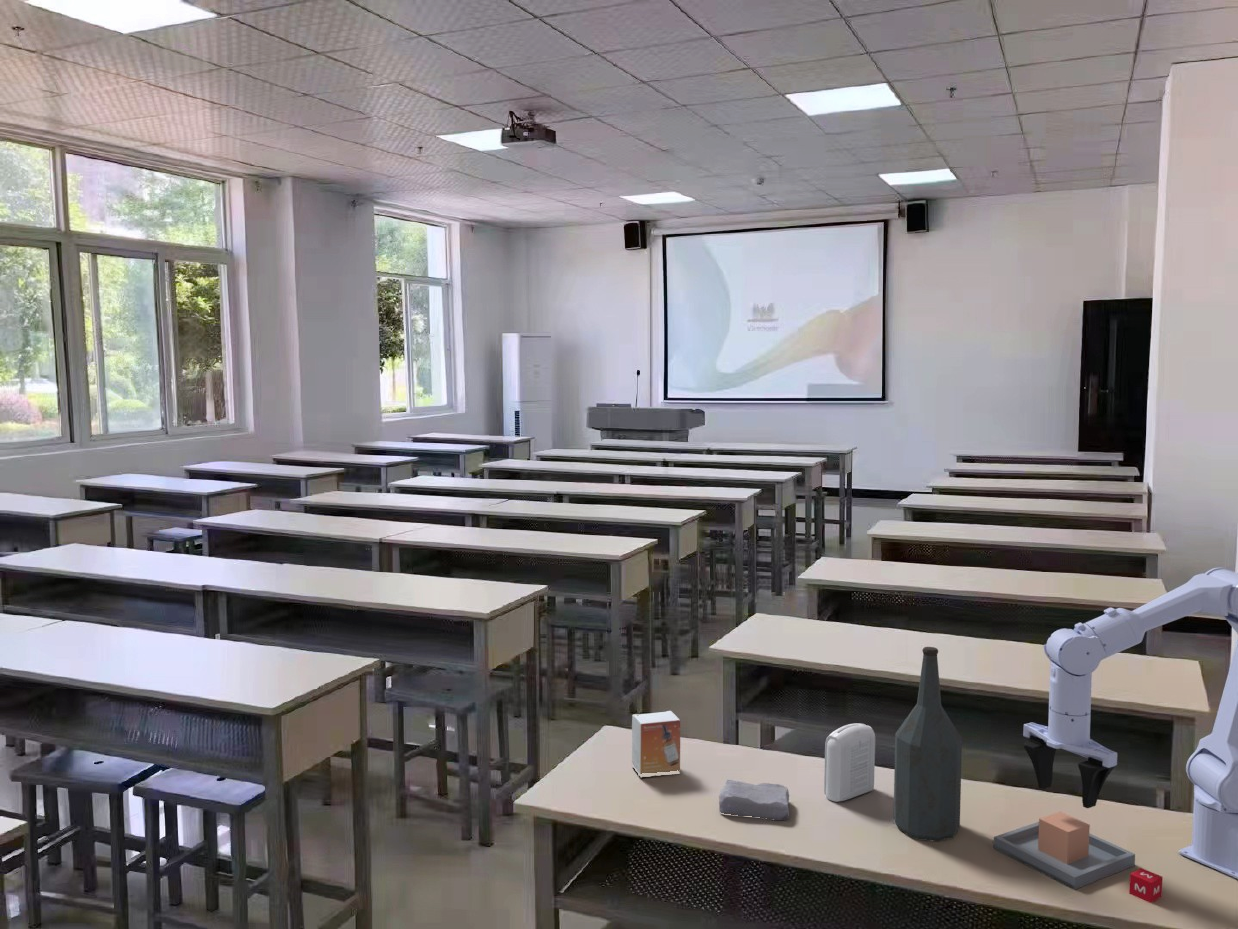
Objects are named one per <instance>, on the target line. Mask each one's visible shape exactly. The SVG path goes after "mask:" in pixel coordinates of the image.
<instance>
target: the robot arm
mask: <svg viewBox="0 0 1238 929" xmlns="http://www.w3.org/2000/svg"><path fill="white" fill-rule="evenodd" d="M1103 613H1104V614H1102V615H1100V616H1098V617H1095V618H1093V619H1091V620H1088V621H1086V622H1084V623H1082V622H1078V623H1075V624H1074V628H1073V629H1072V628H1060V629H1057V630H1056V631H1054V632H1053V633H1051V634H1050V637H1048V639H1047V641H1046V644H1043V651H1044V653H1045V655H1046V657H1047V659H1049V661H1050V666H1049V668H1050V669H1049V672H1050V673H1049V692H1048V721H1047V722H1048V724H1047V725H1048V726H1046V725H1043V724H1038V723H1036V722H1029V723H1024V724H1023V732H1022V733H1023V734H1022V735H1023V737H1025V738H1028V741H1025V742H1023V748H1024V750H1025V752H1026V753H1027V755H1028V757H1029V759H1030V761H1031V764H1032V766H1033V770H1034V774H1035V777H1036V781H1037V786H1038V788H1039V789H1040V790H1045V789H1048V788H1050V787H1052V784H1053V770H1054V760H1055V756H1056V752H1057V750H1060V749H1061V750H1065V751H1067V752H1070V753H1073V754H1075V755H1078V756H1081V757H1083V758H1085V759H1087V760H1085V761H1081V762H1078V764H1077V767H1078V770H1079V772H1080V777H1081V785H1082V786H1081V787H1082V790H1081V791H1082V792H1081V796H1082V797H1081V798H1082V800H1081V802H1082V806H1083V808H1085V809H1090V808H1094V807H1096V805H1097V801H1098V798H1099V795H1100V793H1101V790H1102V788H1103V786H1104V783H1105V782H1106V780H1107V778H1108V777H1109V776H1110V774H1111V773H1112V771H1113V770H1114V769H1115V766H1117V765H1118V752H1116V751H1113V750H1111V749H1109V748H1108V747H1106V746H1103V745H1102V744H1100V743H1098V742H1097V741H1095V740H1093V739H1092V738H1091V736H1090V735H1091V715H1092V713H1091V710H1092V709H1091V707H1092V706H1091V705H1092V677H1093V676H1092V675H1093V673H1094V671H1096V670H1097V669H1098V667H1099V666H1100V663H1101V662H1102V660H1104V659H1106V658H1107V659H1108V658H1110V657H1111V656H1114V655H1116V654H1118V653H1121V652H1122V651H1125V650H1128V649H1130V648H1131V647H1134V646H1136V645H1139V644H1140V643H1142V641H1143V639H1144V638H1145V637H1144V636H1145V635H1146V634H1145V633H1146V632H1147V631H1150V630H1153V629H1156V628H1157V627H1158V628H1159V627H1160V626H1161V627H1162V626H1163V625H1166V624H1169V623H1171V622H1174V621H1177V620H1180V619H1182V618H1184V617H1188V616H1190V615H1193V614H1195V613H1204V614H1211V615H1216V616H1217V615H1218V616H1222V617H1224V619H1225V620H1226V621H1227V622H1228V624H1229V625H1230V626H1231V628H1232V629H1233V630H1234V631H1235V632H1236V634H1237V635H1238V572H1236V571H1234V570H1232V569H1230V568H1227V567H1214V568H1210V569H1209V570H1207V571H1206V572H1205V573H1199V574H1195V575H1193V576H1192V577H1191V578H1190V579H1189V580H1188V581H1187V582H1186V583H1183V584H1182V585H1180V586H1178V587H1176V588H1174V589H1172V590H1170V591H1169V592H1166V593H1164V594H1163V595H1160V596H1159V597H1157V598H1155V599H1152V600H1151V601H1149V602H1147V603H1145V604H1143V605H1141V606H1140V607H1139V606H1138V607H1137V608H1135V609H1133V610H1129V609H1127V608H1124V607H1123V608H1122V607H1118V608H1114V607H1108V608H1106V609H1104V610H1103ZM1216 713H1217V714H1216V717H1215V720H1214V725H1213V729H1212V732H1210V734H1208V735H1205V737H1202V738H1201V739H1199V741H1198V744H1197V748H1196V749H1195V751H1194V752H1193V753H1192V754H1191V755H1190V757H1189V758H1188V759H1187V762H1186V767H1185V771H1186V775H1187V777H1188V780H1189V781H1190V782H1191V783H1193V797H1194V798H1193V815H1192V831H1191V832H1192V834H1191V844H1190V845H1188V846H1185V847H1183V848H1181V849H1178V853H1179V855H1182V856H1184V857H1187V858H1188V859H1190V860H1193V861H1196V862H1197V863H1200V864H1202V865H1205V866H1207V867H1209V868H1212V869H1215V870H1217V871H1219V872H1221V873H1223V874H1225V875H1228V876H1230V877H1232V878H1235V879H1237V880H1238V639H1237V641H1236V645H1235V648H1234V652H1233V656H1232V658H1231V663H1230V666H1229V669H1228V672H1227V677H1226V681H1225V684H1224V688H1223V692H1222V696H1221V699H1220V701H1219V706H1218V710H1217V712H1216Z"/></svg>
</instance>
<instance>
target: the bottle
mask: <svg viewBox="0 0 1238 929" xmlns="http://www.w3.org/2000/svg"><path fill="white" fill-rule="evenodd" d="M921 651H922V653H923V656H922V663H921V670H920V679H919V686H918V694H917V701H916V704H915V706H914V707H913V708H912V710H911V711H910V713H909V714H908V716H906V718H905V719H904V720H903V722H902V724H901V725H900V726H899V728H898V729H897V731H896V732H895V736H894V778H893V780H894V783H893V785H894V786H893V820H894V824H895V825H896V827H897V829H898V830H900V831H901V832H903V833H904V834H905V835H907V836H909V837H911V838H914V839H917V840H923V841H930V840H933V842H942V841H945V840H949V839H952V838H953V837H954V836H955V835H956V833H958V832H957V831H958V829H959V828H960V826H961V799H962V798H961V797H962V796H961V793H962V792H961V791H962V760H963V759H962V756H963V755H962V754H963V752H962V751H963V738H962V737H961V735H960V734H959V732H958V730H957V728H956V727H955V725H954V724H953V722H952V720H951V719H950V717H949V715H948V714H947V712H946V710H945V709H944V707H943V705H942V698H941V687H940V686H941V684H940V672H939V660H938V653H939V649H938V647H934V646H924V647H923V648H922V650H921Z"/></svg>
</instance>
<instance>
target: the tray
mask: <svg viewBox="0 0 1238 929" xmlns="http://www.w3.org/2000/svg"><path fill="white" fill-rule="evenodd" d="M1038 838H1039V821H1036V822H1034V823H1031V824H1028V825H1025V826H1022V827H1019V828H1016V829H1013V830H1009V831H1006V832H1004V833H1002V834H1001V833H1000V834H998V835H995V836H994V837H993V849H995V850H997V851H998V852H1000V853H1002V854H1004V855H1007V856H1009V857H1011V858H1013V859H1014V860H1016V861H1018V862H1021V863H1022V864H1024V865H1026V866H1028V867H1030V868H1032V869H1033V870H1035V871H1038V872H1039V871H1040V872H1039V873H1042V874H1044V875H1045V876H1047V877H1049V878H1051V879H1053V880H1055V881H1057V882H1058V883H1060V884H1062V885H1065V886H1067V887H1069V888H1071V889H1073V890H1076V889H1079V888H1081V887H1084V886H1086V885H1089V884H1091V883H1094V882H1096V881H1099V880H1102V879H1105V878H1107V877H1110V876H1112V875H1114V873H1115V874H1116V873H1120V872H1121V871H1124V870H1127V869H1130V868H1132V867H1135V864H1136V853H1134V852H1132V851H1130V850H1127V849H1125V848H1122V847H1121V846H1118V845H1116V844H1114V843H1112V842H1110V841H1107V840H1105V839H1104V838H1103V839H1102V838H1101V837H1098V836H1096V835H1094V834H1091V833H1090V832H1089V856H1088V857H1085V858H1083V859H1080V860H1077V861H1075V862H1072V863H1069V864H1065V863H1063V862H1061V861H1059V860H1057V859H1055V858H1053V857H1051V856H1049V855H1047V854H1045V853H1043V852H1041V851H1039V850H1038ZM1104 877H1105V878H1104Z"/></svg>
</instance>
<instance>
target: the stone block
mask: <svg viewBox="0 0 1238 929" xmlns="http://www.w3.org/2000/svg"><path fill="white" fill-rule="evenodd" d="M789 801H790V793H789V788H788V787H786V786H784V785H783V784H779V783H769V782H768V783H767V782H762V783H758V784H752V783H747V782H744V781H739V780H733V779H726V781H725V783H724V785H723V786H722V788H721V789H720V792H719V795H718V805H719V808H718V810H719V813H720V812H721V813H724V814H731V815H738V816H752V817H760V818H767V819H774V820H773V821H781V820H782V819H785V820H784V821H786V820H788V818H789V817H790V813H789V812H790V811H789ZM767 819H766V820H767ZM782 821H783V820H782Z"/></svg>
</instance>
